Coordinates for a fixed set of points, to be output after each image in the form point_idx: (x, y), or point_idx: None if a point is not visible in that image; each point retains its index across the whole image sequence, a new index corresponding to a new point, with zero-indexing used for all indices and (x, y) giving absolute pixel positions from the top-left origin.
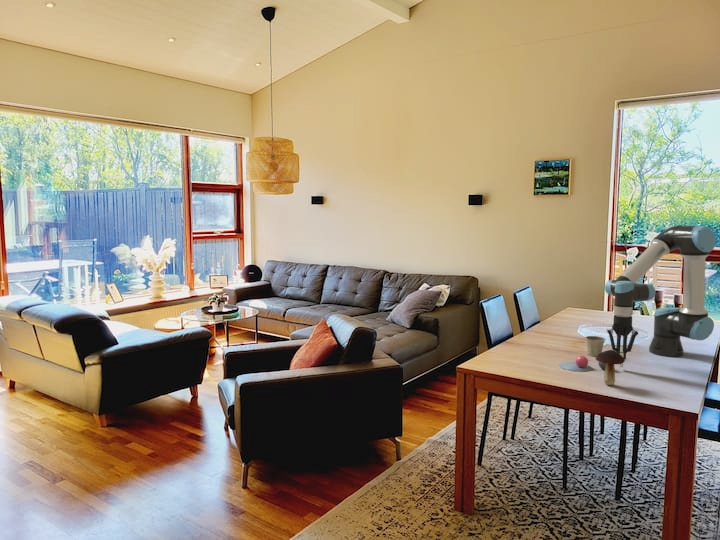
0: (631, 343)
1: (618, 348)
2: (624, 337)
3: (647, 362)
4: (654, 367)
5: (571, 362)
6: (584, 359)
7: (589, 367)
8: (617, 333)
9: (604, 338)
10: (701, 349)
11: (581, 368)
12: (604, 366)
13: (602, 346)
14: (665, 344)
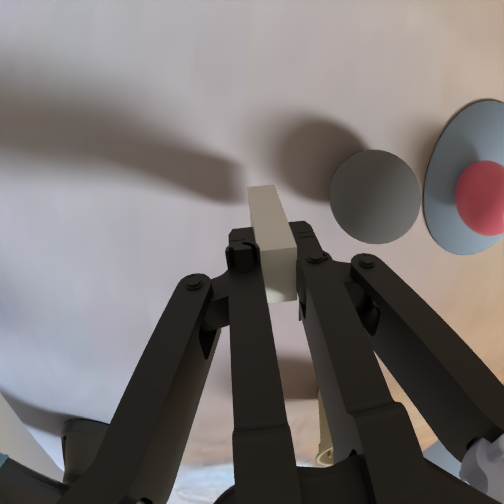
0: (162, 361)
1: (328, 280)
2: (289, 435)
3: (127, 367)
4: (84, 312)
5: (481, 247)
6: (500, 182)
7: (436, 185)
8: (426, 472)
9: (318, 460)
10: (55, 450)
11: (475, 154)
12: (382, 151)
13: (325, 421)
14: (93, 458)
